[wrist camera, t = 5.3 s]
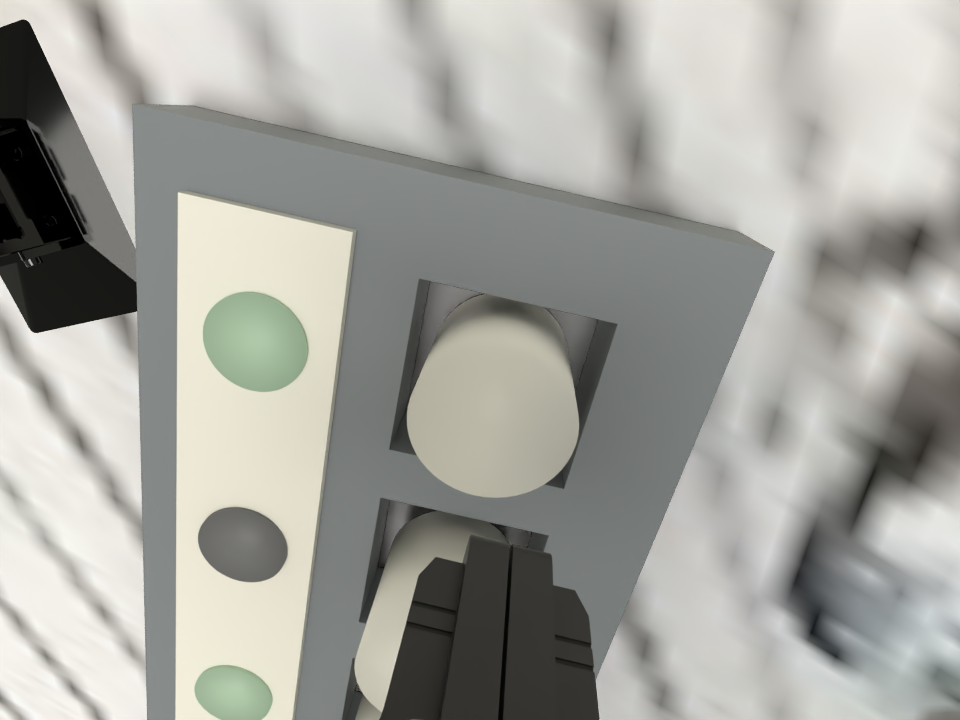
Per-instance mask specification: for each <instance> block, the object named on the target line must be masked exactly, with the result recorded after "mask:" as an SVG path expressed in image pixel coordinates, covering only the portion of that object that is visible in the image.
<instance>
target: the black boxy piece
mask: <svg viewBox="0 0 960 720" xmlns="http://www.w3.org/2000/svg"><path fill="white" fill-rule="evenodd" d="M0 276H1V277H2V279H3V281H4V283H5V285H6V287H7V288H8V290H9V292H10V294H11V296H12V297H13V299H14V301H15V303H16V305H17V307H18V308H19V310H20V312H21V314H22V316H23V317H24V319H25V321H26V323H27V325H28V327H29V328H30V330H31V331H32V332H34V333H39V332H44V331H48V330H53V329H57V328H62V327H67V326H71V325H76V324H81V323H85V322H90V321H94V320H99V319H104V318H108V317H113V316H118V315H122V314H127V313H132V312H136V311H137V276H136V249H135V247H134V245H133V243H132V240H131V238H130V236H129V234H128V232H127V230H126V228H125V226H124V223H123V221H122V219H121V217H120V215H119V213H118V211H117V208H116V206H115V204H114V202H113V200H112V198H111V196H110V194H109V191H108V189H107V187H106V185H105V183H104V181H103V179H102V176H101V174H100V172H99V170H98V168H97V166H96V164H95V162H94V159H93V157H92V155H91V153H90V151H89V149H88V147H87V144H86V142H85V140H84V138H83V136H82V134H81V132H80V130H79V127H78V125H77V123H76V121H75V119H74V117H73V115H72V112H71V110H70V108H69V106H68V104H67V102H66V100H65V98H64V95H63V93H62V91H61V89H60V87H59V85H58V83H57V80H56V78H55V76H54V74H53V72H52V70H51V68H50V66H49V63H48V61H47V59H46V57H45V55H44V53H43V51H42V48H41V46H40V44H39V42H38V40H37V38H36V36H35V34H34V31H33V29H32V27H31V25H30V23H29V22H28V21H26V20H20V21H17V22H14V23H11V24H9V25H6V26H3V27H0Z"/></svg>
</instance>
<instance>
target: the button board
mask: <svg viewBox="0 0 960 720" xmlns="http://www.w3.org/2000/svg"><path fill="white" fill-rule="evenodd" d="M132 112H133V153H134V194H135V235H136V276H137V318H138V359H139V400H140V441H141V482H142V523H143V565H144V606H145V647H146V688H147V720H175V700H176V483H177V266H178V192H181V191H185V190H186V191H190V192H194V193H199V194H203V195H208V196H212V197H216V198H221V199H225V200H229V201H234V202H238V203H242V204H247V205H251V206H256V207H260V208H264V209H269V210H273V211H277V212H282V213H286V214H290V215H295V216H299V217H303V218H308V219H312V220H317V221H321V222H325V223H330V224H334V225H338V226H343V227H347V228H351V229H356V230H357V231H356V239H355V247H354V254H353V262H352V270H351V278H350V286H349V294H348V302H347V310H346V318H345V325H344V333H343V341H342V349H341V357H340V365H339V373H338V381H337V389H336V396H335V404H334V412H333V420H332V428H331V436H330V444H329V452H328V459H327V467H326V475H325V483H324V491H323V499H322V507H321V515H320V523H319V530H318V538H317V546H316V554H315V562H314V570H313V578H312V586H311V593H310V601H309V609H308V617H307V625H306V633H305V641H304V649H303V657H302V664H301V672H300V680H299V688H298V696H297V704H296V712H295V720H355V718H356V715H357V711H358V708H359V704H360V701H361V698H362V694H363V693H361V692H357V691H355V687H356V681H357V680H356V676H355V669H354V666H355V658H356V655H357V651H358V648H359V645H360V642H361V639H362V636H363V633H364V630H365V627H366V623H367V620H368V617H369V614H370V611H371V608H372V605H373V602H374V599H375V596H376V592H377V589H378V586H379V583H380V580H381V577H382V574H383V571H384V568H379V567H378V561H379V556H380V550H381V545H382V539H383V534H384V528H385V523H386V517H387V512H388V507H389V501H390V500H393V501H398V502H402V503H407V504H411V505H416V506H420V507H424V508H429V509H433V510H438V511H442V512H447V513H451V514H455V515H460V516H464V517H469V518H473V519H478V520H482V521H487V522H491V523H495V524H500V525H504V526H509V527H513V528H518V529H522V530H527V531H531V532H532V534H531V537H530V541H529V544H528V547H527V548H530V549H534V550H538V551H542V552H546V553H550V554H551V555H552V564H553V585H555V586H559V587H564V588H568V589H572V590H575V591H576V593H577V595H578V597H579V599H580V601H581V602H582V604H583V606H584V608H585V610H586V612H587V614H588V615H589V622H590V632H591V642H592V644H591V649H592V652H593V662H594V668H593V672H595V680H596V678H597V675H598V673H599V670H600V668H601V666H602V663H603V661H604V658H605V656H606V654H607V651H608V649H609V646H610V644H611V642H612V639H613V637H614V635H615V632H616V630H617V627H618V625H619V623H620V620H621V618H622V615H623V613H624V611H625V608H626V606H627V604H628V601H629V599H630V596H631V594H632V592H633V589H634V587H635V584H636V582H637V580H638V577H639V575H640V572H641V570H642V568H643V565H644V563H645V561H646V558H647V556H648V553H649V551H650V549H651V546H652V544H653V541H654V539H655V537H656V534H657V532H658V529H659V527H660V525H661V522H662V520H663V518H664V515H665V513H666V510H667V508H668V506H669V503H670V501H671V498H672V496H673V494H674V491H675V489H676V486H677V484H678V482H679V479H680V477H681V475H682V472H683V470H684V467H685V465H686V463H687V460H688V458H689V455H690V453H691V451H692V448H693V446H694V443H695V441H696V439H697V436H698V434H699V432H700V429H701V427H702V424H703V422H704V420H705V417H706V415H707V412H708V410H709V408H710V405H711V403H712V401H713V398H714V396H715V393H716V391H717V389H718V386H719V384H720V381H721V379H722V377H723V374H724V372H725V369H726V367H727V365H728V362H729V360H730V358H731V355H732V353H733V350H734V348H735V346H736V343H737V341H738V338H739V336H740V334H741V331H742V329H743V326H744V324H745V322H746V319H747V317H748V315H749V312H750V310H751V307H752V305H753V303H754V300H755V298H756V295H757V293H758V291H759V288H760V286H761V283H762V281H763V279H764V276H765V274H766V272H767V269H768V267H769V264H770V262H771V260H772V257H773V255H774V251H772V250H770V249H769V248H767V247H765V246H763V245H762V244H760V243H758V242H756V241H754V240H753V239H751V238H749V237H747V236H745V235H744V234H742V233H740V232H737V231H733V230H728V229H724V228H720V227H715V226H711V225H707V224H702V223H698V222H694V221H689V220H685V219H681V218H676V217H672V216H668V215H663V214H659V213H655V212H650V211H646V210H642V209H637V208H633V207H629V206H624V205H620V204H616V203H611V202H607V201H603V200H598V199H594V198H590V197H585V196H581V195H577V194H572V193H568V192H564V191H559V190H555V189H551V188H546V187H542V186H538V185H533V184H529V183H525V182H520V181H516V180H512V179H507V178H503V177H499V176H494V175H490V174H486V173H481V172H477V171H473V170H468V169H464V168H460V167H455V166H451V165H447V164H442V163H438V162H434V161H429V160H425V159H421V158H416V157H412V156H408V155H403V154H399V153H395V152H390V151H386V150H382V149H377V148H373V147H369V146H364V145H360V144H356V143H351V142H347V141H343V140H338V139H334V138H330V137H325V136H321V135H317V134H312V133H308V132H304V131H299V130H295V129H291V128H286V127H282V126H278V125H273V124H269V123H265V122H260V121H256V120H252V119H247V118H243V117H239V116H234V115H230V114H225V113H221V112H217V111H212V110H208V109H204V108H199V107H195V106H188V105H155V104H132ZM430 281H432V282H437V283H441V284H445V285H450V286H454V287H458V288H463V289H467V290H471V291H476V292H480V293H485V294H489V295H493V296H498V297H502V298H506V299H511V300H515V301H520V302H524V303H528V304H533V305H537V306H541V307H546V308H550V309H555V310H559V311H563V312H568V313H572V314H576V315H581V316H585V317H589V318H594V319H598V322H597V325H596V328H595V332H594V335H593V338H592V341H591V345H590V348H589V351H588V354H587V357H586V361H585V364H584V367H583V370H582V373H581V377H580V380H579V383H578V386H577V390H576V393H575V396H576V402H577V409H578V415H579V433H578V439H577V443H576V446H575V448H574V451H573V453H572V455H571V457H570V459H569V460H568V462H567V464H566V465H565V466H564V467H563V469H562V470H561V471H560V472H559V473H558V474H557V475H556V476H555V477H554V478H552V479H551V480H550V481H548V482H547V483H546V484H544V485H542V486H540V487H539V488H537V489H535V490H532V491H530V492H527V493H524V494H520V495H517V496H511V497H502V498H490V497H481V496H475V495H471V494H468V493H464V492H462V491H459V490H457V489H454V488H452V487H451V486H449V485H447V484H445V483H444V482H442V481H441V480H439V479H438V478H437V477H435V476H434V475H433V474H432V473H431V472H430V471H429V470H428V469H427V468H426V467H425V466H424V464H423V463H422V462H421V461H420V459H419V458H418V456H417V455H416V453H415V451H414V449H413V447H412V444H411V441H410V438H409V434H408V429H407V409H408V408H407V403H408V397H409V392H410V386H411V381H412V376H413V370H414V365H415V359H416V354H417V348H418V343H419V337H420V332H421V326H422V321H423V316H424V310H425V305H426V299H427V294H428V288H429V283H430Z"/></svg>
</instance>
